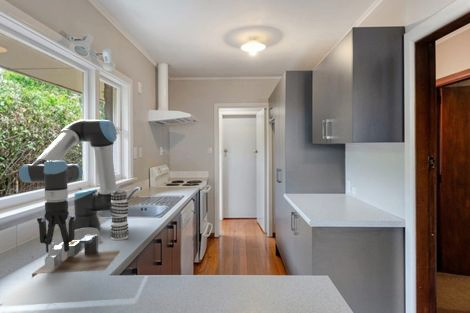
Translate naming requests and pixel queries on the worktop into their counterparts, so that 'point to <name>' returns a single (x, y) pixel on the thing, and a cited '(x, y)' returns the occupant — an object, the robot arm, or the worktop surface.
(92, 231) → the grey curved arch block
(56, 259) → the link
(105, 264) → the board
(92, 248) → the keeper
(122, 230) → the decorative candle
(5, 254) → the worktop surface
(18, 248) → the worktop surface
